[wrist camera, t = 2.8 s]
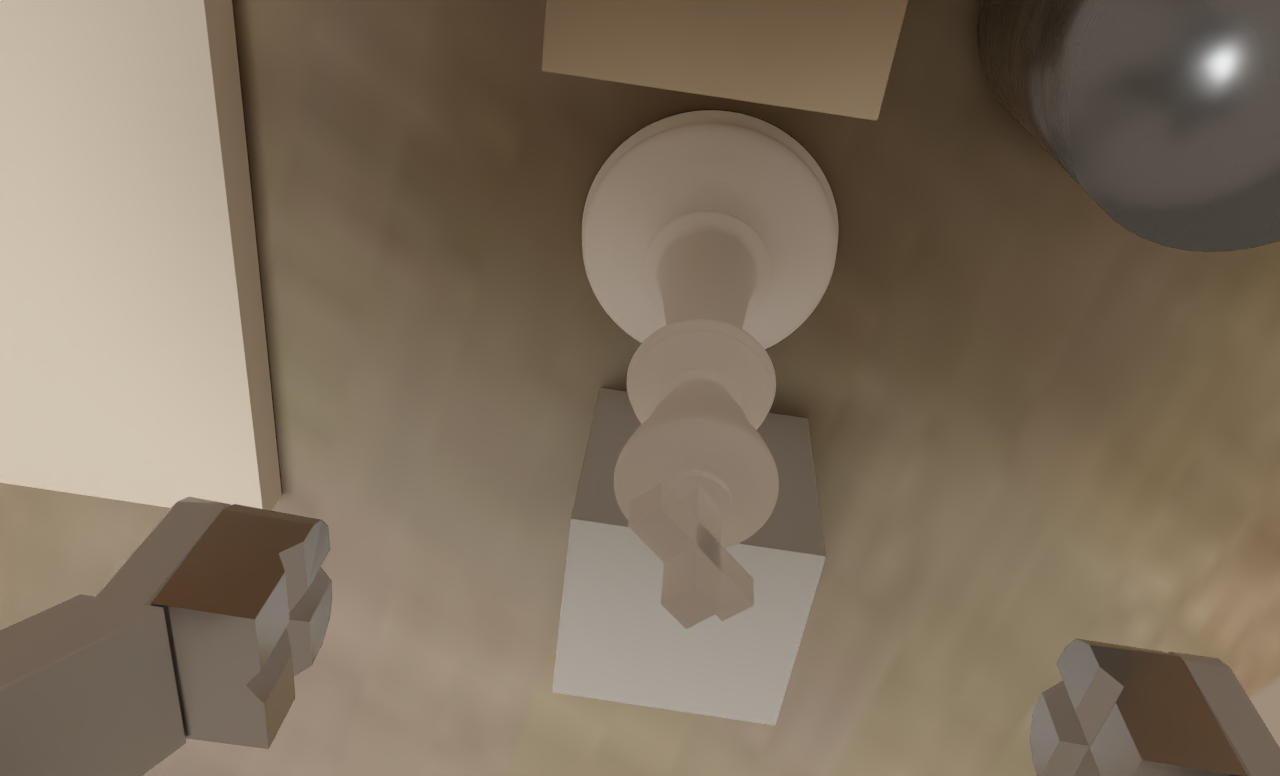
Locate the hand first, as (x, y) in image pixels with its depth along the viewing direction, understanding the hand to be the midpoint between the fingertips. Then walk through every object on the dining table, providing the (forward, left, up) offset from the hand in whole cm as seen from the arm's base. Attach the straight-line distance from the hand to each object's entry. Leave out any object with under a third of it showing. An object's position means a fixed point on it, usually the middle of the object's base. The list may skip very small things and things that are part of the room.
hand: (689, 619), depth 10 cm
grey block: (+5, 0, -10) cm, 11 cm away
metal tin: (-6, +6, -10) cm, 13 cm away
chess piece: (-1, 0, -10) cm, 10 cm away
